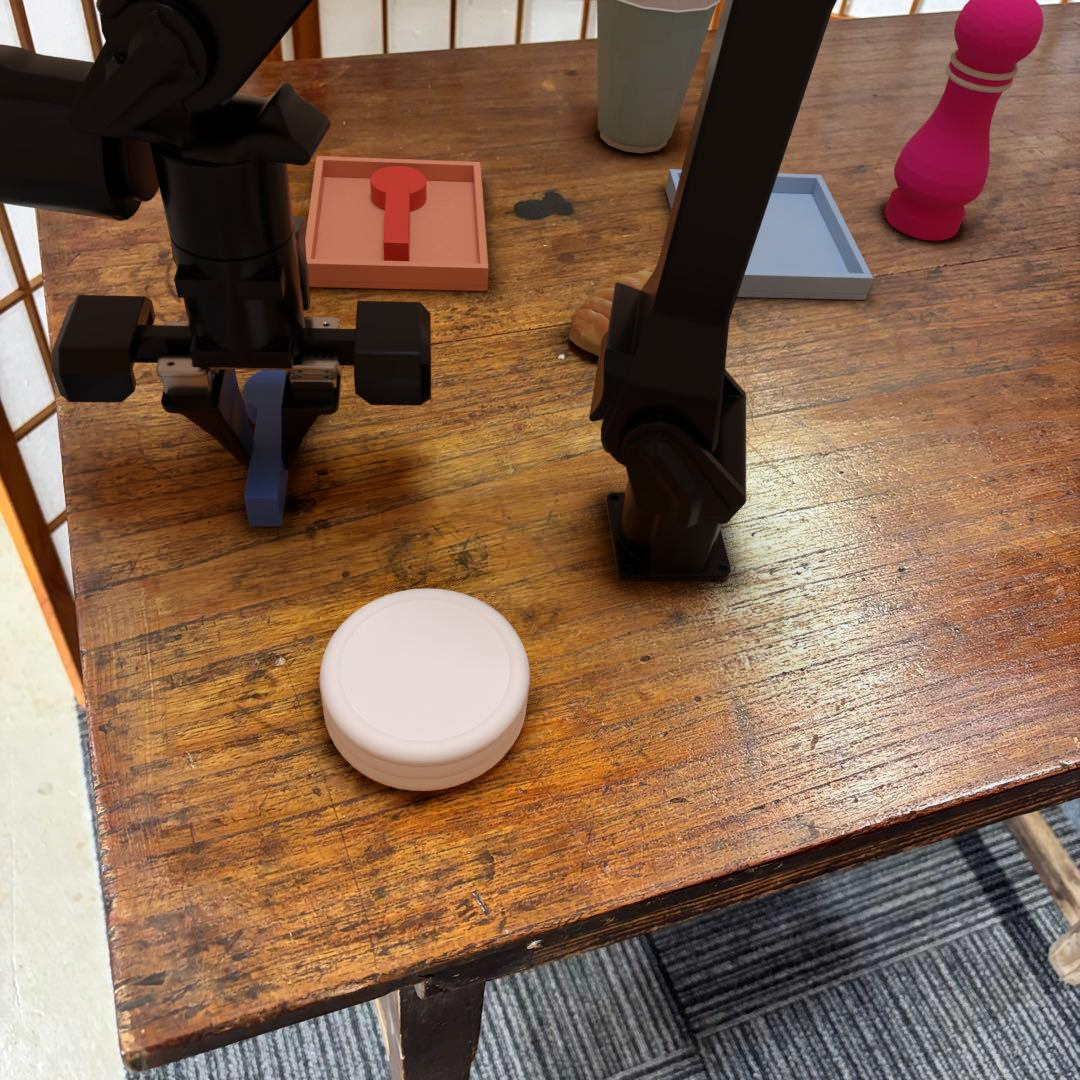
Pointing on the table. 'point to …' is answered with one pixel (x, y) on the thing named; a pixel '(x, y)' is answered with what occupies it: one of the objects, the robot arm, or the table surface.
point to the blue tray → (801, 244)
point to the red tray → (358, 228)
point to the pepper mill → (962, 119)
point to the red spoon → (397, 206)
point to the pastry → (601, 311)
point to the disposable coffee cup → (646, 67)
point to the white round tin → (424, 688)
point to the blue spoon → (265, 449)
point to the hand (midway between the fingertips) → (270, 464)
